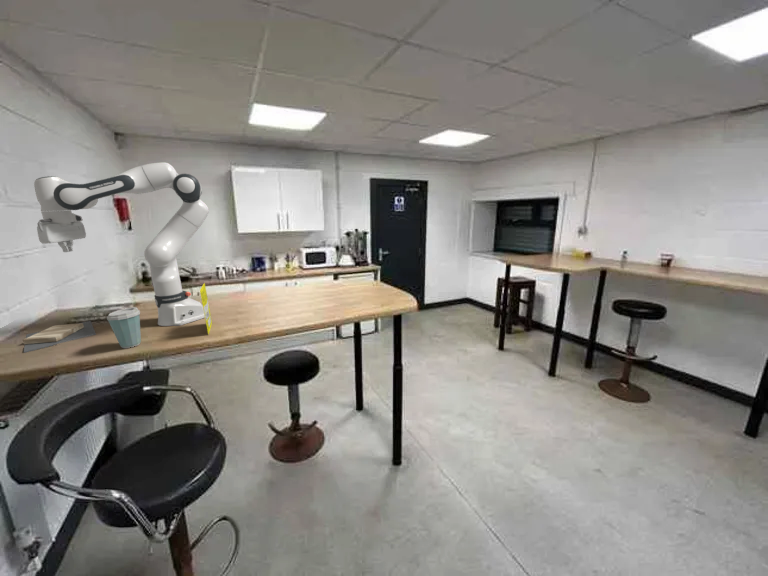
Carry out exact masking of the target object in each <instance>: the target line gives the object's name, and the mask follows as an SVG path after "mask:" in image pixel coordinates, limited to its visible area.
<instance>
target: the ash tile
mask: <svg viewBox="0 0 768 576" xmlns="http://www.w3.org/2000/svg"><path fill="white" fill-rule="evenodd" d="M80 323H81V324H78V323H71V324H70V323H69V324H58V325H52V326H50V327H47V328H45V329H43V330H40V331H41V332H40V331H38V332H39V333H37V334H34V335H32V336H30V337H28V338H26V337H25V338H24V339H22V342H23V345H25V344H37V343H48V342H57V341H59V340H61V339H63V338H65V337H67V336H69V335H71V334H73V333H74V332H76V331H78V330H80V329H82V328H84V325H83V322H80Z"/></svg>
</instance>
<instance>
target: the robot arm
mask: <svg viewBox="0 0 768 576" xmlns="http://www.w3.org/2000/svg"><path fill="white" fill-rule="evenodd" d="M33 184H34V185H33V186H34V187H33V188H34V191H35V195H36V199H37V202H38V203H39V204H40V212H41V216H42V219H39V220H38V222H37V227H36V230H37V231H36V232H37V237H38V240H39V242H40V243H41V244H43V245H45V244H55V243H57V245H58V246H59V247H60V248H61V249H62V252H63V253H69V252H74V249H73V245H74V241H75V240H81V239H86V237H87V233H86V229H85V225H84V223H83V217H82V216H81V215H78V214H76V213H74V212H72V211H78V210H88V209H91V208H94V207H95V206H96V205H97V204H98V201H99V200H100V199H103V198H106V197H109V196H110V197H111V196H114V195H118V194H135V195H137V194H140V195H141V194H148V193H152V192H156V191H159V190H160V191H161V190H163V189H172V190H173V191H174V192H175V193H176V195H177V196H178V197H179V198H180V199H181V200H182V205H181V206H180V207H179V209H177V211H176V212H175V213H174V214H173V216H172V217H170V219H169V220H168V222H167V223H166V224H165V225H164V226H163V228H162V229H160V231H159V232H158V233H157V234H156V236H155V237H154V238H153V239H152V240H151V242H150V243H149V244H148V245H147V246H146V247H145V249H144V254H143V255H144V258H145V260H146V262H148V264H149V269H150V277H151V282H152V286H153V291H154V301H155V305H156V307H157V317H158V318H157V325H158V326H161V327H169V326H171V327H172V326H175V327H178V326H179V327H180V326H184V325H185V324H188V323H193V322H195V321H199V320H201V319H205V315H204V310H203V305H202V302H200V301H198V300H196V299H193V298H191V295H192V293H191V292H189V291H186V290H183V286H182V281H181V277H180V272H179V271H180V270H179V266H178V265H179V264H178V260H177V256H178V255H179V254H180V252H181V251H182V250H183V249H184V247H185V245H187V244H188V242H189V241H190V239H191V238H192V237H193V236H194V235H195V233H196V232H197V231H198V229H199V228H200V227H201V226H202V225H203V223H204V222H205V220H206V219H207V216H208V215H209V213H210V208H209V207H208V205H207V204H206V203H205V202H204V201H203V200H202V199H201V195H202V194H203V190H202V189H203V187H202V183H201V182H200V181H199V180H198V179H197V178H196V177H195V176H194V175H192V174H190V173H180V174H179V173H178V172H177V170H176V169H175V168H174V166H173V165H172V164H170V163H168V162H164V161H162V162H153V163H146V164H141V165H138V166H135V167H133V168H130V169H128V170H125V171H123V172H120V173H118V174H116V175H113V176H111V177H108V178H104V179H100V180H95V181H91V182H88V183H87V182H86V183H81V184H80V183H73V182H70V181H67V180H65V179H62V178H61V177H59V176H56V175H55V176H53V175H51V176H49V175H47V176H41V177H38V178H36V179H35V180H34V183H33Z"/></svg>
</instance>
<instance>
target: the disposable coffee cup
mask: <svg viewBox="0 0 768 576" xmlns="http://www.w3.org/2000/svg"><path fill="white" fill-rule="evenodd" d="M140 314H141V310H140V309H138V307H135V306H133V307H127V308H124V309H123V308H122V309H118V310H114V311H113V312H110V313H109V314H108V315H107V317H106V320H107V321H108V324H109V325H110V328H111V330H112V332H113V334H114V336H115V338H116V340H117V341H118V344H119V346H120V347H121V348H122V349H130V347H131V348H134V346H135V347H137V346H139V345H141V342H142V338H141V337H142V335H141V334H142V333H141V317H140Z"/></svg>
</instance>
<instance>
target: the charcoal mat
mask: <svg viewBox="0 0 768 576" xmlns="http://www.w3.org/2000/svg"><path fill="white" fill-rule="evenodd" d="M81 323H83V325H84V328H82V329H80V330H78V331H76V332H74V333H73V334H71V335H69V336H67V337H65V338H63V339H61V340H59V341H57V342H48V343H37V344H24V347H23V353H29V351H30V352H33V351H37V349H38V350H42V349H46V348H50V347H49V346H51V347H54V346H53V345H55V346H58V345H57V344H59V345H60V344H62V343H67V342H71V341H75V340H79V339H84V338H88V337H92V336H96V335H97V333H96V331H95V329H94V326H93V322H92V321H91V320H87V321H83V322H78V323H77V324H81ZM41 331H42V330H40V331H36V332H32V333H28V334H27V333H26V335H25V339H26V338H28V337H30V336H32V335H34V334H37V333H39V332H41ZM45 347H46V348H45ZM41 348H42V349H41Z"/></svg>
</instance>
